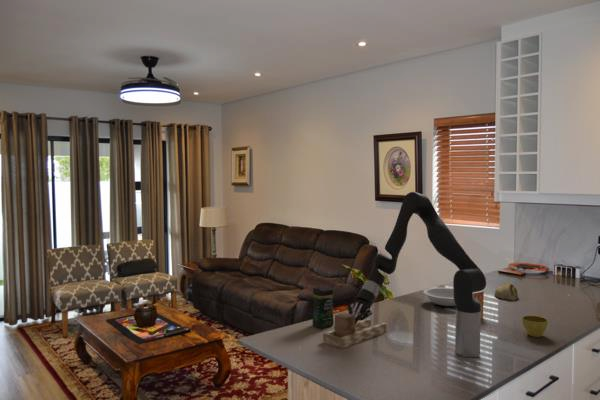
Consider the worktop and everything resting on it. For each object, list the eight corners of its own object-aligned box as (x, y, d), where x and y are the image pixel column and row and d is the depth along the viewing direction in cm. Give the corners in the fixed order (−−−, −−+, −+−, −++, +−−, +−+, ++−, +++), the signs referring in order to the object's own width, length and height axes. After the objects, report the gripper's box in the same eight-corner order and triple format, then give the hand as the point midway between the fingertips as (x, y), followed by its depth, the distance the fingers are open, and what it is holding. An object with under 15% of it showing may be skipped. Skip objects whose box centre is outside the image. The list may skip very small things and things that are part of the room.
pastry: (522, 301, 262) (522, 287, 261) (498, 300, 263) (498, 286, 263) (513, 294, 276) (513, 281, 275) (491, 294, 277) (491, 280, 277)
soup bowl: (479, 308, 248) (479, 295, 247) (442, 313, 239) (442, 300, 238) (449, 297, 270) (449, 286, 270) (414, 301, 261) (414, 289, 261)
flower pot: (516, 332, 208) (516, 316, 208) (533, 330, 212) (534, 314, 212) (535, 340, 199) (535, 323, 199) (552, 337, 203) (553, 320, 202)
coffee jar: (320, 329, 214) (320, 289, 213) (309, 325, 220) (309, 285, 219) (336, 325, 219) (336, 286, 218) (326, 321, 226) (326, 283, 225)
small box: (473, 320, 227) (473, 293, 227) (462, 316, 233) (462, 290, 232) (483, 317, 232) (484, 291, 231) (472, 314, 237) (473, 288, 236)
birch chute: (368, 326, 218) (368, 318, 218) (386, 331, 210) (386, 323, 210) (323, 342, 197) (323, 333, 197) (341, 348, 190) (341, 339, 190)
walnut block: (344, 334, 203) (344, 312, 203) (354, 338, 199) (355, 315, 198) (334, 337, 199) (334, 315, 199) (345, 341, 195) (345, 318, 194)
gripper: (353, 285, 212) (334, 318, 204) (376, 290, 202) (358, 325, 194) (360, 295, 216) (342, 327, 208) (384, 300, 206) (366, 334, 198)
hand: (350, 326), depth 201 cm, fingers closed
